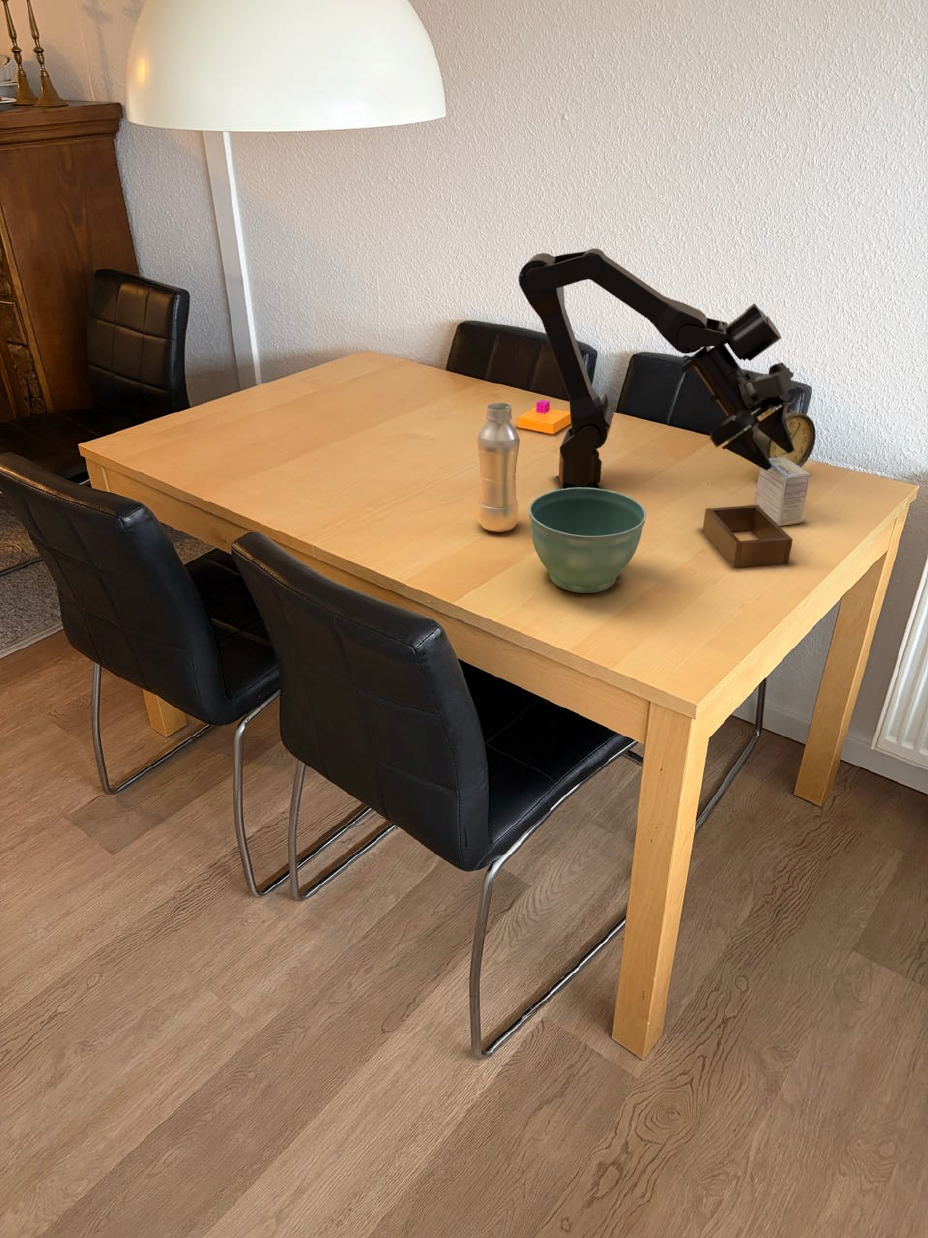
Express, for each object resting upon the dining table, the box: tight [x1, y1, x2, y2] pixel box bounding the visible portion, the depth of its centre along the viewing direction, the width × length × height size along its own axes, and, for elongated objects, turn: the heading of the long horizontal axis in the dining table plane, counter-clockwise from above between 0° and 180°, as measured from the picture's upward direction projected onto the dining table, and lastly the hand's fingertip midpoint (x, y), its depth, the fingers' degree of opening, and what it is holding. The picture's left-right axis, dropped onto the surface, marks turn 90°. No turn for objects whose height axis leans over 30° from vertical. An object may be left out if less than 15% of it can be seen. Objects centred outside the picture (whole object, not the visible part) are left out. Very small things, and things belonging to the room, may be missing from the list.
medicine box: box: [753, 457, 811, 527], centre depth 157 cm, size 8×4×9 cm, turn 15°
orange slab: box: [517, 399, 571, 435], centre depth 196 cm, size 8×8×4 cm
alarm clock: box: [757, 386, 817, 468], centre depth 170 cm, size 11×5×16 cm, turn 118°
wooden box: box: [702, 504, 793, 569], centre depth 149 cm, size 9×13×4 cm
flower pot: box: [528, 487, 647, 594], centre depth 138 cm, size 16×16×11 cm
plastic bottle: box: [476, 402, 521, 533], centre depth 151 cm, size 6×7×20 cm
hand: (780, 460), depth 155 cm, fingers open, 9 cm apart
